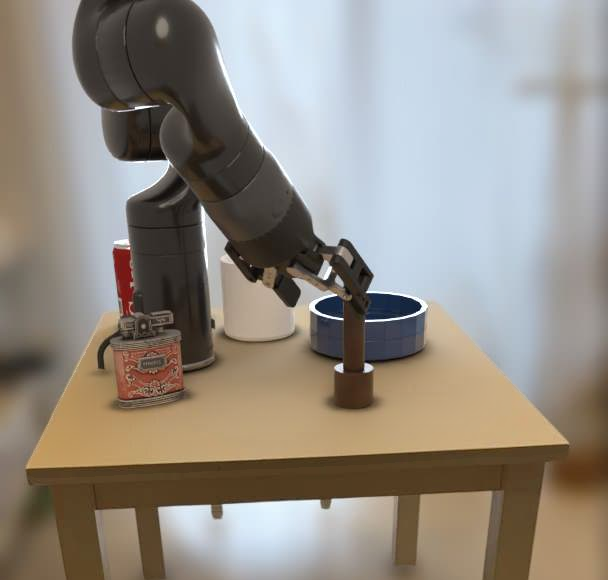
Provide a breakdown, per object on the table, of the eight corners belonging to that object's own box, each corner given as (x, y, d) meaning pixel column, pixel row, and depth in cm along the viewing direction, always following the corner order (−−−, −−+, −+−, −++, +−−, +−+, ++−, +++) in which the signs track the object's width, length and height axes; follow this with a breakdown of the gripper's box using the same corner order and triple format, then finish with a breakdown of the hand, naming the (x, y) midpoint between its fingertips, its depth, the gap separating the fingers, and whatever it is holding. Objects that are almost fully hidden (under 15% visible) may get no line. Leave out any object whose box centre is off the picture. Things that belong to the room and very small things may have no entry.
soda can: (160, 321, 132) (152, 237, 127) (152, 331, 128) (143, 244, 122) (126, 321, 133) (117, 237, 127) (117, 330, 128) (106, 244, 123)
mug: (308, 333, 125) (307, 258, 120) (246, 346, 120) (242, 268, 116) (263, 315, 134) (260, 244, 130) (204, 325, 130) (198, 253, 125)
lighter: (123, 410, 100) (112, 322, 95) (114, 401, 102) (103, 314, 97) (190, 398, 103) (183, 311, 98) (180, 389, 105) (172, 305, 101)
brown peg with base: (335, 409, 99) (335, 281, 92) (332, 396, 103) (332, 272, 96) (375, 408, 99) (377, 280, 92) (370, 394, 103) (372, 271, 96)
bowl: (313, 366, 112) (313, 323, 110) (306, 332, 126) (306, 293, 123) (434, 362, 113) (436, 319, 110) (415, 329, 126) (416, 290, 124)
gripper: (337, 171, 75) (402, 282, 88) (210, 162, 82) (288, 266, 96) (301, 246, 74) (372, 348, 87) (175, 231, 81) (259, 326, 95)
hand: (328, 305), depth 92 cm, fingers open, 8 cm apart
